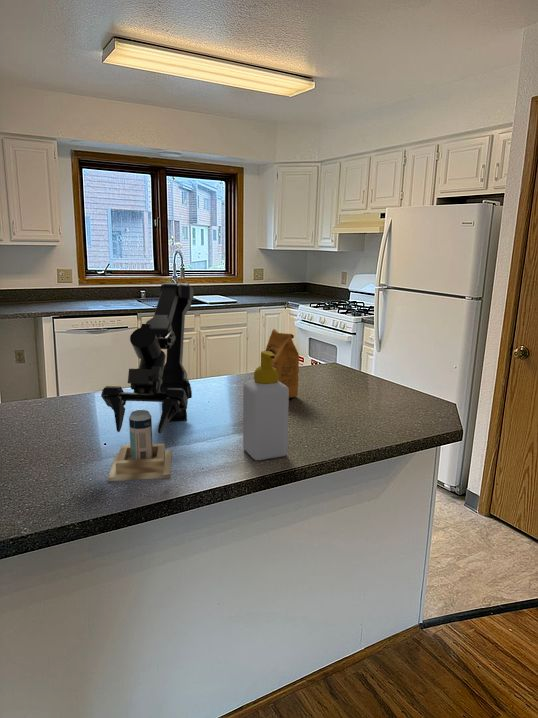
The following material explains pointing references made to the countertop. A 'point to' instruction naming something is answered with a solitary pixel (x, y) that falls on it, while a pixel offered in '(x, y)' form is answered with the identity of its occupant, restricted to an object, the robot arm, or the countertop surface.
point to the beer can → (141, 435)
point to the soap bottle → (265, 412)
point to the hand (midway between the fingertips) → (138, 432)
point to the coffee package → (285, 360)
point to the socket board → (141, 465)
